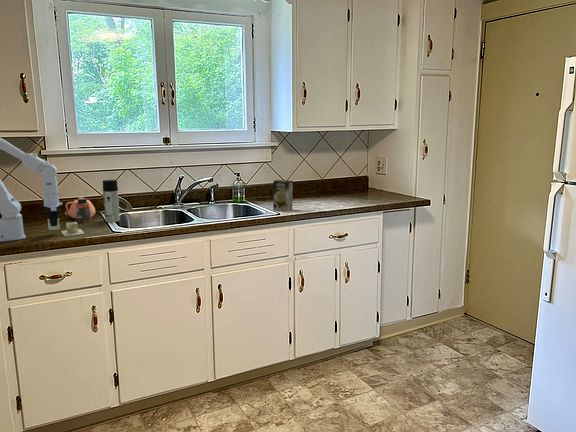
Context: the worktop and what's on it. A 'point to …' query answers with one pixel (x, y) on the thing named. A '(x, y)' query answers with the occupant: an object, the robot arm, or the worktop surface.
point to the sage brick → (53, 226)
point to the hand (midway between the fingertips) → (53, 224)
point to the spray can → (111, 200)
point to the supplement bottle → (83, 210)
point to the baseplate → (72, 233)
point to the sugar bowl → (73, 211)
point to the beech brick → (72, 227)
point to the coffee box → (282, 195)
